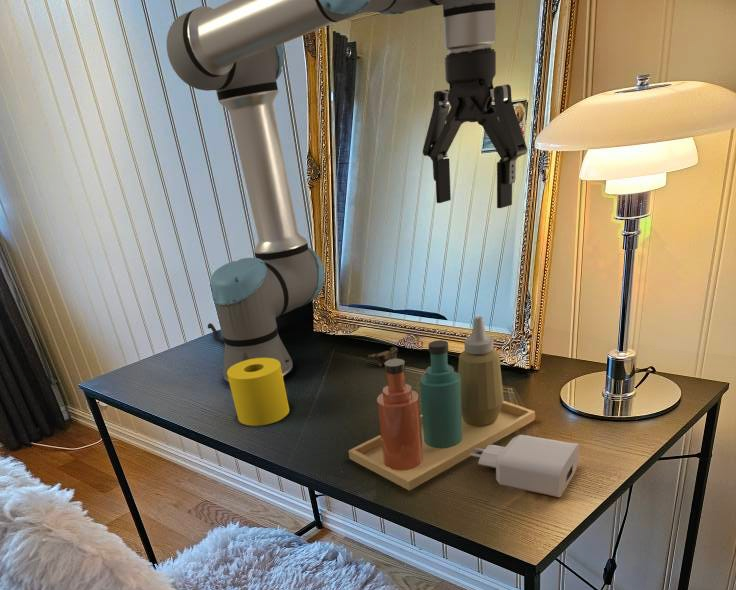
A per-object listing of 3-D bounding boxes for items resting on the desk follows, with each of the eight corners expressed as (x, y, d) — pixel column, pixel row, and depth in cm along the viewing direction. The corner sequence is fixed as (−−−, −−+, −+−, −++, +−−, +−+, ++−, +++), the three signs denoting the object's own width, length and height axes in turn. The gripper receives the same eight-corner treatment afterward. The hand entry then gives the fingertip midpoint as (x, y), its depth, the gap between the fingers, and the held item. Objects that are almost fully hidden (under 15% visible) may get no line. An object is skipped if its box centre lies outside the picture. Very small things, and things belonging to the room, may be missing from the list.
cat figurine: (398, 367, 137) (393, 349, 135) (367, 371, 141) (362, 353, 140) (404, 362, 139) (399, 344, 137) (373, 366, 143) (368, 348, 141)
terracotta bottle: (375, 461, 105) (364, 364, 96) (404, 446, 108) (396, 351, 99) (401, 474, 101) (392, 374, 92) (431, 458, 104) (425, 360, 95)
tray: (349, 461, 107) (348, 450, 106) (471, 399, 121) (471, 389, 120) (409, 493, 97) (408, 481, 96) (535, 422, 111) (535, 411, 110)
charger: (484, 451, 105) (577, 468, 98) (460, 480, 99) (558, 500, 92) (484, 425, 102) (580, 441, 95) (459, 452, 96) (560, 472, 89)
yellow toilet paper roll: (268, 398, 132) (259, 354, 127) (299, 410, 126) (291, 364, 120) (228, 417, 127) (216, 371, 121) (258, 430, 120) (247, 383, 115)
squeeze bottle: (503, 430, 109) (503, 325, 99) (454, 430, 111) (450, 327, 101) (504, 408, 116) (504, 308, 106) (458, 409, 117) (455, 310, 107)
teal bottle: (416, 440, 109) (408, 345, 100) (443, 426, 113) (438, 333, 103) (443, 452, 105) (438, 354, 96) (470, 437, 108) (468, 341, 99)
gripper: (555, 38, 90) (548, 203, 102) (429, 55, 107) (436, 195, 119) (519, 42, 86) (517, 213, 98) (395, 59, 103) (405, 203, 115)
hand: (472, 204), depth 108 cm, fingers open, 13 cm apart
